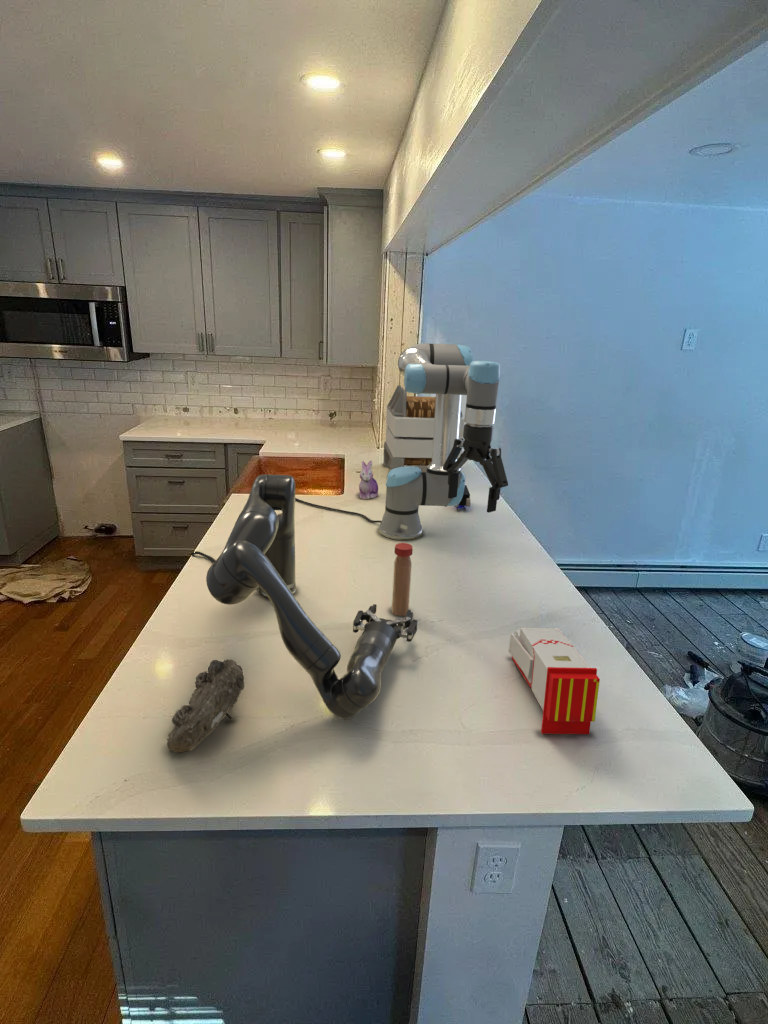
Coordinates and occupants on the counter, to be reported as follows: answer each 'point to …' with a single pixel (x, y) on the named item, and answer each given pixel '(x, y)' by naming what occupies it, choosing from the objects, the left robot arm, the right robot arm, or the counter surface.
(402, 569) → the bottle
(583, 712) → the toy
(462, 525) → the counter surface
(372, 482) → the figurine
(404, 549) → the cap
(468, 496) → the figurine character
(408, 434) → the grey tiered storage bin
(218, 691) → the fossil
